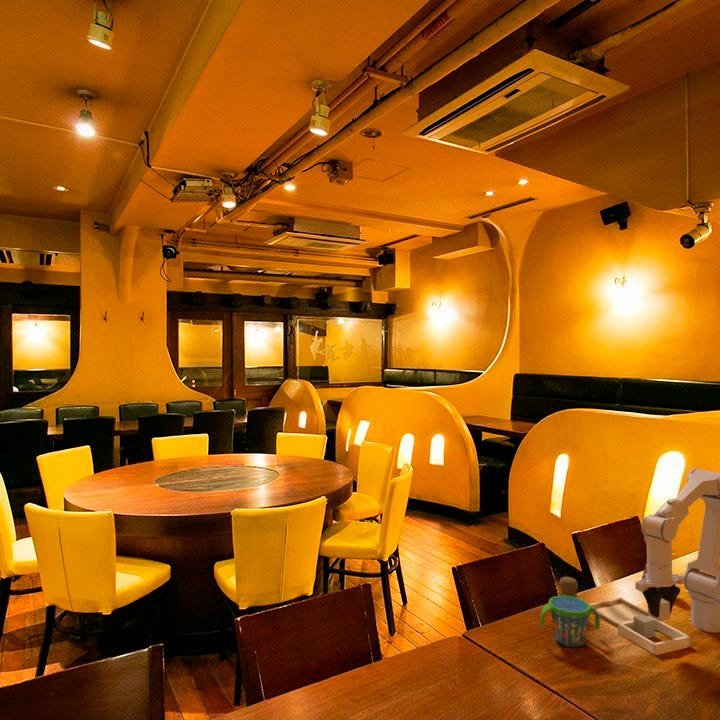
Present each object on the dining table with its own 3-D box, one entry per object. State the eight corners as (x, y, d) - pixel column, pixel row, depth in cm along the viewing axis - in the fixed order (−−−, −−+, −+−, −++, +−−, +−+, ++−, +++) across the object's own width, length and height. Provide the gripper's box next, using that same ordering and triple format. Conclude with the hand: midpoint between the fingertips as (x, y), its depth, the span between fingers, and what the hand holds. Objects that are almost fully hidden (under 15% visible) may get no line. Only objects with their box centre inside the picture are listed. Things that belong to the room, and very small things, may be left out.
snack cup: (593, 632, 147) (592, 595, 147) (607, 652, 137) (606, 613, 137) (535, 630, 149) (534, 594, 149) (545, 650, 138) (544, 611, 138)
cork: (574, 610, 160) (574, 574, 160) (583, 620, 154) (583, 582, 154) (555, 611, 160) (554, 574, 160) (563, 620, 154) (562, 582, 154)
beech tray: (620, 604, 164) (620, 597, 164) (656, 623, 152) (656, 616, 152) (584, 611, 160) (584, 604, 160) (618, 631, 147) (617, 624, 147)
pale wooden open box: (651, 628, 149) (651, 616, 149) (690, 650, 137) (690, 636, 137) (618, 636, 145) (617, 623, 145) (655, 659, 133) (655, 645, 133)
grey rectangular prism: (643, 630, 146) (643, 614, 146) (654, 637, 143) (654, 620, 143) (633, 633, 145) (633, 616, 145) (644, 639, 142) (644, 622, 142)
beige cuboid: (658, 613, 142) (657, 596, 142) (670, 619, 138) (669, 601, 138) (647, 615, 140) (647, 598, 141) (659, 621, 137) (659, 604, 137)
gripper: (667, 553, 145) (668, 603, 145) (625, 560, 140) (626, 612, 140) (690, 562, 139) (691, 614, 138) (647, 570, 134) (649, 624, 134)
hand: (660, 614), depth 139 cm, fingers closed on beige cuboid, 4 cm apart
